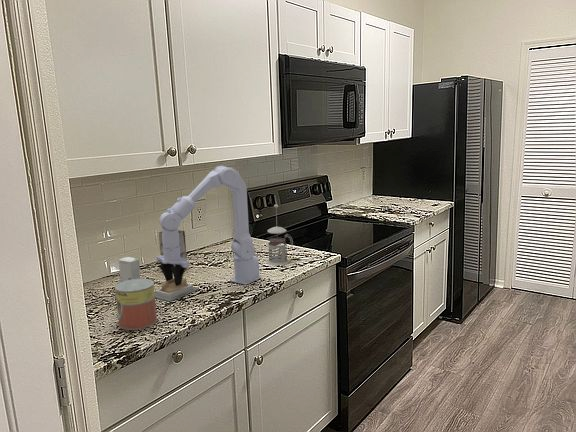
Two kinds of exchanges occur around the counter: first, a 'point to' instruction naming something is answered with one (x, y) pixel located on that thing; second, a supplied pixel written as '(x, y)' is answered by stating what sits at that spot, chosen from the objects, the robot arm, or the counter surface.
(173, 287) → the maple block
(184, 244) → the coffee box
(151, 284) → the canned food
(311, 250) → the counter surface
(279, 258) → the french press
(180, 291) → the board
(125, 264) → the skincare box
